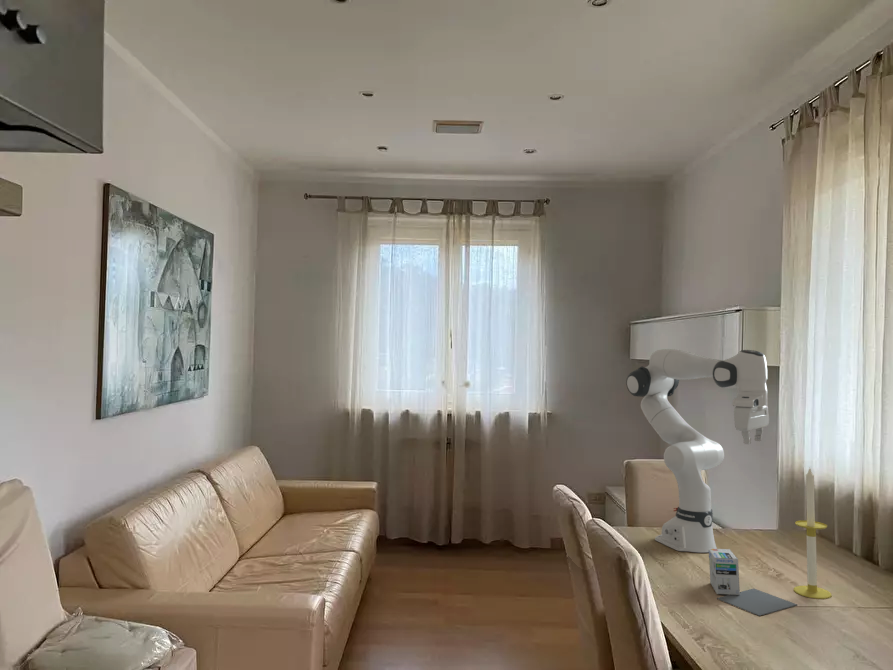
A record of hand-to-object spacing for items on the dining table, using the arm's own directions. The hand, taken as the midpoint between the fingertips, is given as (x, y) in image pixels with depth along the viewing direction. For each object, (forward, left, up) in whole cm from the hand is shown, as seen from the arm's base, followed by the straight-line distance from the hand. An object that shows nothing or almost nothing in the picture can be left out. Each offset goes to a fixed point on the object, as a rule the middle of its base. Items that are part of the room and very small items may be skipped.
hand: (752, 442), depth 210 cm
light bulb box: (+5, -20, -43) cm, 47 cm away
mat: (+16, -20, -43) cm, 50 cm away
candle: (+19, +1, -43) cm, 47 cm away
